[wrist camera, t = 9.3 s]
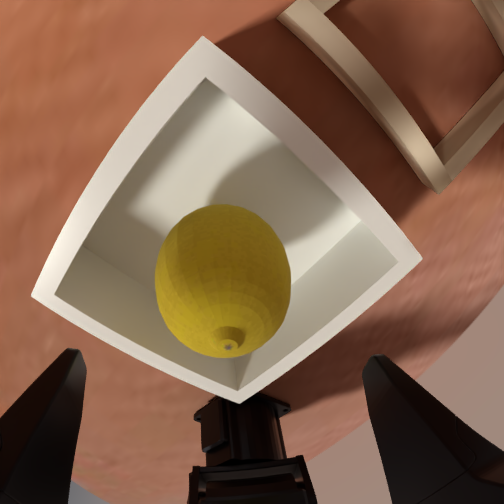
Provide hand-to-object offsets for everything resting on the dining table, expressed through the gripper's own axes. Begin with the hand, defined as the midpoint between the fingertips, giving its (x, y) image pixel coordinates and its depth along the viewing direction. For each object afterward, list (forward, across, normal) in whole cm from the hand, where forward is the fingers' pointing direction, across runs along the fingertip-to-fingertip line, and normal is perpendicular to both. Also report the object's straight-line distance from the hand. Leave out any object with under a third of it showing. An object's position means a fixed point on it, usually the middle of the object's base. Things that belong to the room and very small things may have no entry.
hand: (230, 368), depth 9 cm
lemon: (+9, 0, 0) cm, 9 cm away
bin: (+10, 0, 0) cm, 10 cm away
